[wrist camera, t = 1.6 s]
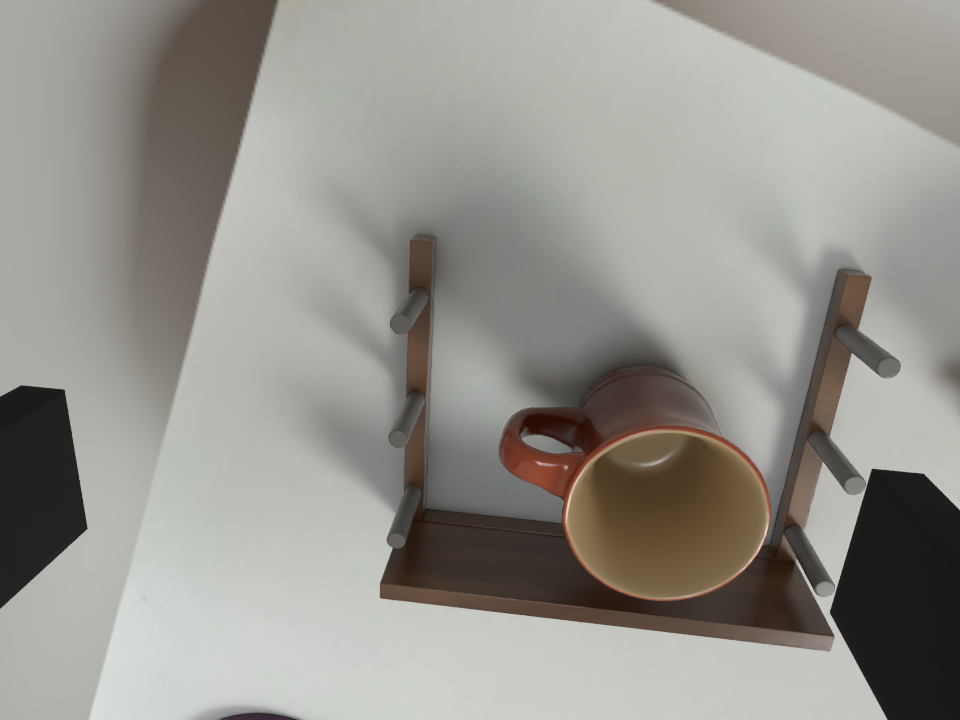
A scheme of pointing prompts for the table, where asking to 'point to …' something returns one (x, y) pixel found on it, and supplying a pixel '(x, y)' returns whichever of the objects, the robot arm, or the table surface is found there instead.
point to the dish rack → (544, 547)
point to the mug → (646, 485)
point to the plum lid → (257, 717)
